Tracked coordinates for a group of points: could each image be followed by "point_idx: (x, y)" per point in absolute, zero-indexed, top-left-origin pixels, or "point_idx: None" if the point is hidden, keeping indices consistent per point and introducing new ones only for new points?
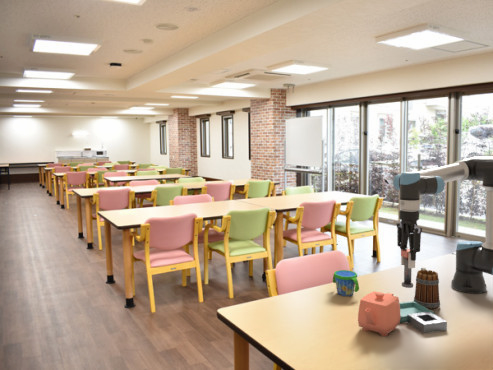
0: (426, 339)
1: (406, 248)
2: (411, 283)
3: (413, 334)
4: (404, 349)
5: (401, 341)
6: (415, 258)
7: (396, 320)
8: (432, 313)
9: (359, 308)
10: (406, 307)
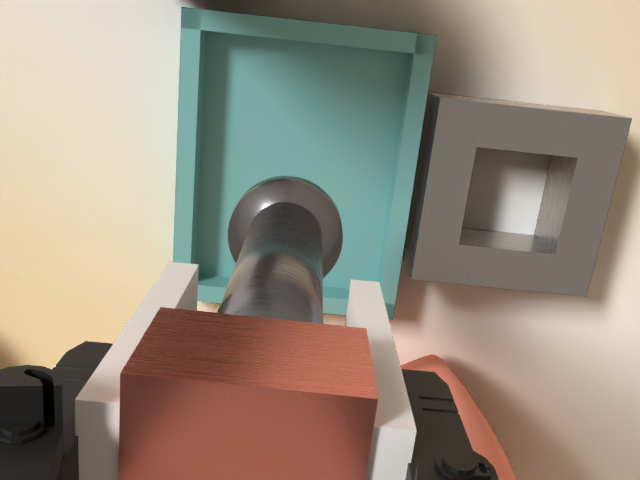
0: (618, 310)
1: (51, 405)
2: (295, 193)
3: (538, 331)
4: (634, 475)
5: (566, 437)
6: (451, 402)
7: (499, 444)
8: (481, 104)
9: None
10: (214, 105)
